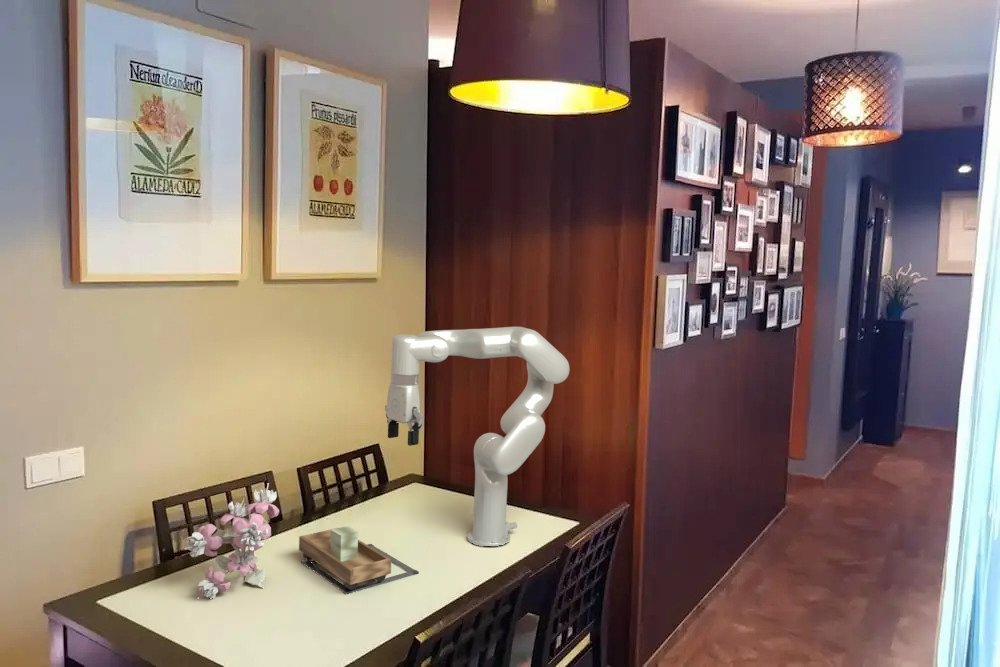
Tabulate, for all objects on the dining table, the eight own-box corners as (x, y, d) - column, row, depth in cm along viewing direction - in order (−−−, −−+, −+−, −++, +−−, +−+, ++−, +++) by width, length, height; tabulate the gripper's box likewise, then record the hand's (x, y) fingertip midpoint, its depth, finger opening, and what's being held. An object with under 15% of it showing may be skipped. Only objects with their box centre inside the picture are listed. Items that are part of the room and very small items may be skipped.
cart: (337, 548, 214) (338, 527, 213) (390, 582, 194) (391, 559, 193) (298, 558, 206) (299, 536, 206) (350, 594, 186) (350, 570, 186)
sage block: (347, 551, 203) (347, 525, 202) (357, 557, 200) (358, 531, 199) (330, 555, 200) (331, 529, 199) (340, 562, 196) (341, 535, 195)
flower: (189, 562, 198) (178, 491, 185) (279, 545, 206) (275, 476, 193) (191, 627, 183) (179, 554, 169) (289, 606, 190) (285, 535, 177)
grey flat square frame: (370, 545, 219) (370, 543, 219) (418, 573, 202) (418, 571, 202) (300, 562, 205) (300, 560, 205) (345, 594, 187) (346, 592, 187)
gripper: (376, 376, 215) (374, 436, 217) (411, 385, 202) (409, 449, 204) (398, 374, 220) (396, 433, 222) (434, 383, 207) (432, 446, 209)
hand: (402, 441), depth 213 cm, fingers open, 9 cm apart
